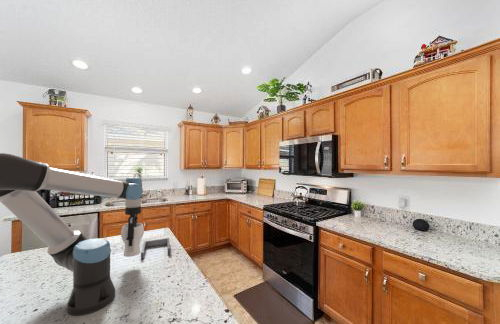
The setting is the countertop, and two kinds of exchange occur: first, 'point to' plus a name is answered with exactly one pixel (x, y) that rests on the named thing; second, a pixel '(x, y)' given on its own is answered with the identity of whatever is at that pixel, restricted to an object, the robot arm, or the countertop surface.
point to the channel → (155, 243)
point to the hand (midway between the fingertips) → (132, 248)
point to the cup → (137, 238)
